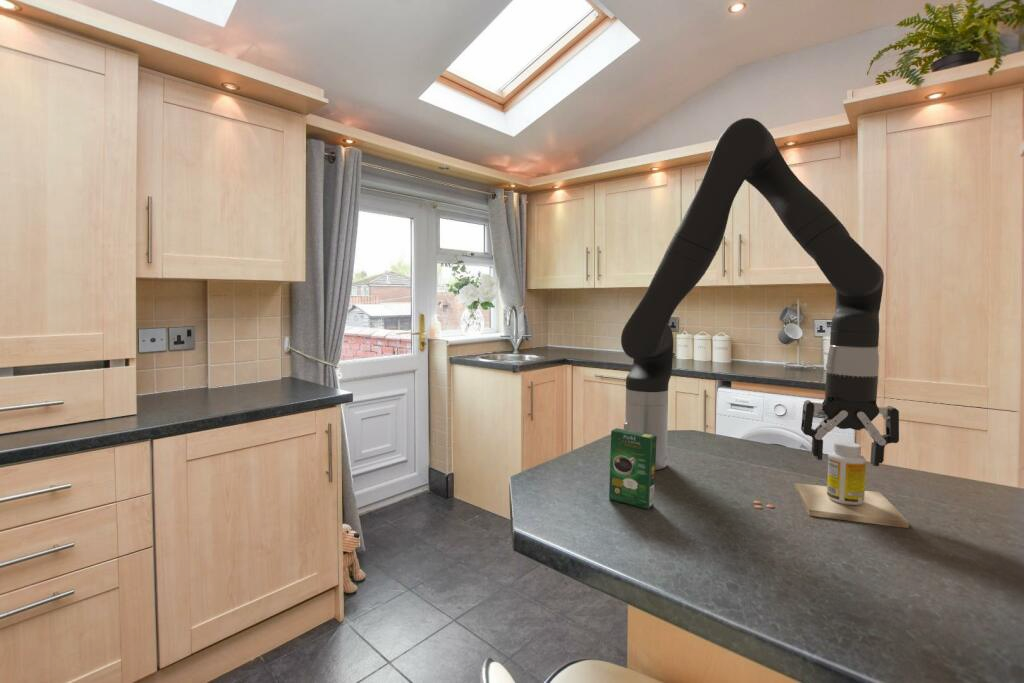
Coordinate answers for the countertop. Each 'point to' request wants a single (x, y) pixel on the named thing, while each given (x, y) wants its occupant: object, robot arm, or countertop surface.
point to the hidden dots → (761, 506)
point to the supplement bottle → (846, 474)
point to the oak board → (850, 507)
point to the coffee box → (632, 468)
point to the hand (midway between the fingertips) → (846, 461)
